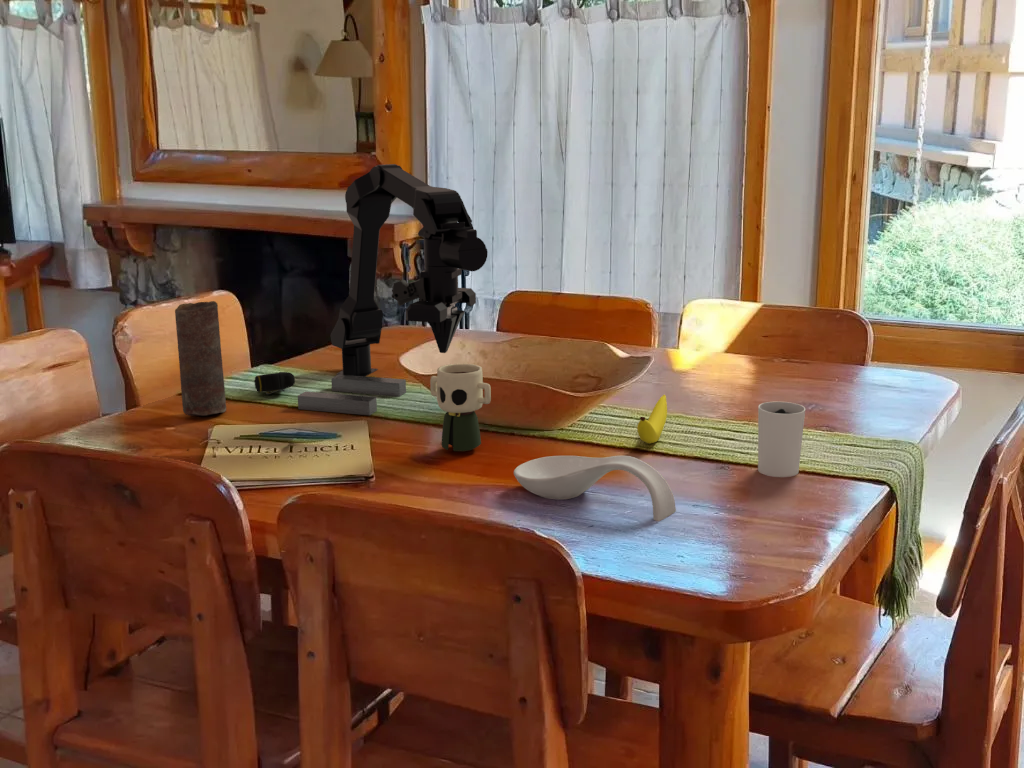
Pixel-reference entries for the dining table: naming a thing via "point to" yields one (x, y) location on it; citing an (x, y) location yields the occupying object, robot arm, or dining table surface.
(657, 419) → the banana
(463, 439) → the character mug
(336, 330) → the robot arm
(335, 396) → the guide channel
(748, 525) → the dining table surface
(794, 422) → the light grey cup
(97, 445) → the dining table surface
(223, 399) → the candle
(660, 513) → the spoon rest
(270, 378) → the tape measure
